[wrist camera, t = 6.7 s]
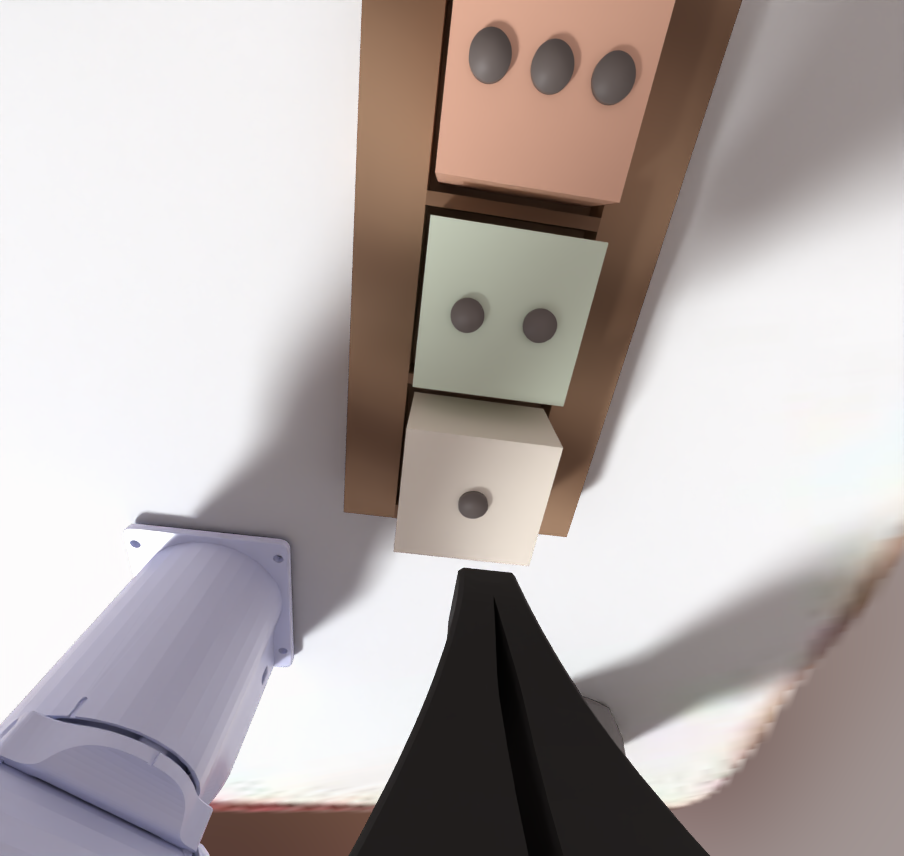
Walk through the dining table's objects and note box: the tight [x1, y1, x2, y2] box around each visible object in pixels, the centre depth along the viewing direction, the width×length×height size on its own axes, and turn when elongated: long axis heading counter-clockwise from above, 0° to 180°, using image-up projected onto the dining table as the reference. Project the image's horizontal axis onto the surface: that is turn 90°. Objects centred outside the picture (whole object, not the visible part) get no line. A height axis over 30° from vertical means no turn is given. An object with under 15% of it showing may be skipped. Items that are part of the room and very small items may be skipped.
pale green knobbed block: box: [412, 215, 608, 407], centre depth 14 cm, size 5×5×3 cm
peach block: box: [435, 0, 675, 207], centre depth 11 cm, size 5×5×3 cm
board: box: [344, 0, 742, 537], centre depth 15 cm, size 19×10×2 cm, turn 172°
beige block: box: [394, 392, 563, 566], centre depth 16 cm, size 5×5×3 cm
